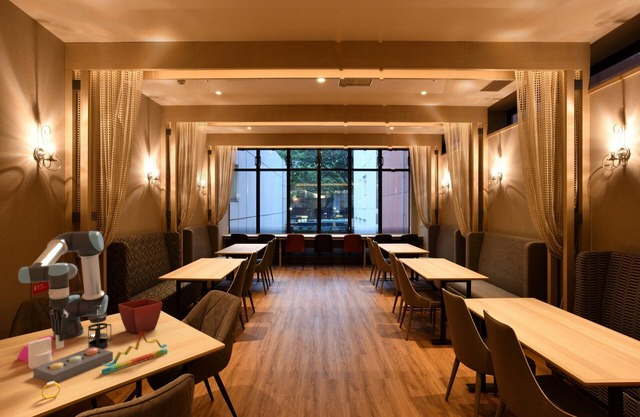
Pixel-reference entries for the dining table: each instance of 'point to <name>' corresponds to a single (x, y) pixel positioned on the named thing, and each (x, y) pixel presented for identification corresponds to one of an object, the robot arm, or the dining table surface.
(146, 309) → the plant pot
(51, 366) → the ochre button
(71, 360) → the sage button
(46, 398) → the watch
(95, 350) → the terracotta button
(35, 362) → the translucent white block
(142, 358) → the chart
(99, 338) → the french press
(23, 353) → the bracket
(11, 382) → the dining table surface
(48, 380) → the button panel
